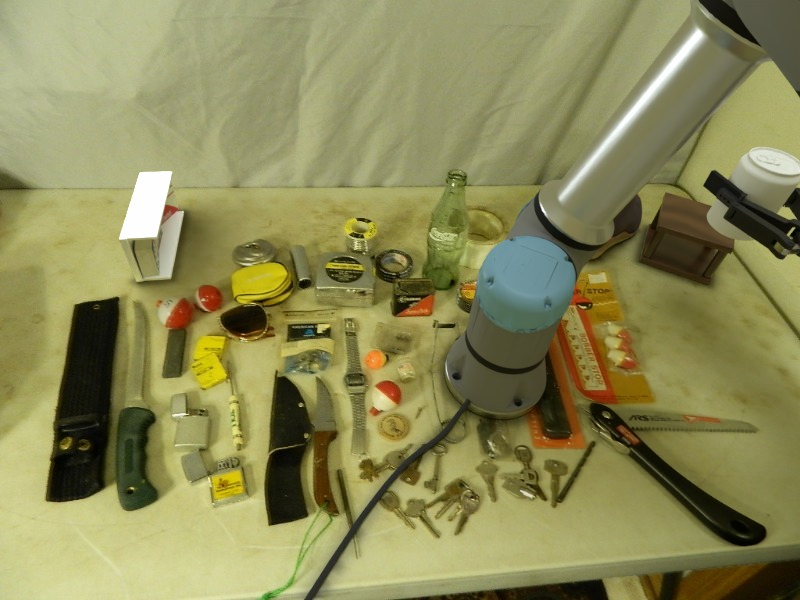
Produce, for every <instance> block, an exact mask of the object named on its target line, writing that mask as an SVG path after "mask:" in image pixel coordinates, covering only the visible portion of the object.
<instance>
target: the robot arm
mask: <svg viewBox="0 0 800 600" xmlns="http://www.w3.org/2000/svg"><path fill="white" fill-rule="evenodd" d="M689 2H690V4H689V5H690V12H689V15H688V16H687V17H686V19H685V20H684V21H683V22H682V24H681V25H680V27H679V28H678V29H677V30H676V32H675V33H674V35H672V37H671V38H670V40H668V42H667V43H666V45H665V46H664V47H663V48H662V49H661V51H660V52H659V54H658V55H657V56H656V58H655V59H654V60H653V61H652V62H651V64H650V65H649V67H648V68H647V69H646V70H645V72H644V73H643V74H642V75H641V77H640V78H639V80H638V81H637V82H636V83H635V85H634V86H633V87H632V89H631V90H630V91H629V92H628V93H627V95H626V96H625V97H624V99H623V100H622V102H620V104H619V105H618V106H617V108H616V109H615V110H614V112H613V113H612V114H611V116H609V118H608V119H607V121H606V122H605V123H604V124H603V126H602V127H600V129H599V131H597V133H596V135H595V136H594V137H593V138H592V140H591V141H590V143H589V144H587V146H586V147H585V149H584V150H583V152H582V153H581V155H580V156H578V158H577V159H576V160H575V161H574V163H573V165H571V167H570V168H569V170H568V171H567V172H566V174H565V175H564V176H563V177H562V179H552V180H549V181H547V182H545V183H544V184H543V185H542V186H541V188H540V189H539V191H537V193H536V194H535V196H534V197H533V198H531V199H530V200H529V201H528V202H527V203H525V205H523V206H522V208H521V209H520V211H519V213H518V215H517V216H516V218H515V221H514V224H513V225H512V227H511V229H510V230H509V231H508V233H507V235H506V237H505V238H504V240H502V241H500V242H499V243H497V244H496V245H494V246H493V247H492V248H490V250H489V252H488V253H487V255H485V258H484V260H483V262H482V264H481V265H480V267H479V270H478V273H477V280H476V283H475V291H474V295H473V300H472V303H471V308H470V311H469V316H468V318H467V319H468V320H467V324H466V328H465V330H464V331H463V333H462V334H461V335H459V336H458V337H456V338H455V340H454V343H453V344H452V345H451V347H450V348H449V350H448V352H447V356H446V358H445V363H444V379H445V383H446V386H447V388H448V389H449V392H450V393H451V394H452V396H453V397H454V398H455V399H456V401H457V402H458V403H460V404H461V406H460V407H459V409H458V410H457V411H456V412H455V414H454V415H453V416H452V418H451V420H450V421H449V422H448V424H447V425H446V426H445V427H444V428H443V429H442V430H441V431H440V432H439V433H438V434H437V435H436V436H434V437H433V438H432V439H431V440H430V441H428V442H427V443H425V444H424V445H422V446H421V447H419V448H418V449H417V450H415V451H414V452H413V453H412V454H411V455H409V456H407V458H406V459H405V460H404V461H403V462H402V463H401V464H400V465H398V467H397V468H396V469H395V470H394V471H393V472H392V473H391V475H389V477H388V478H387V479H386V480H385V482H384V483H383V484H382V485H381V486H380V488H379V489H378V490H377V492H376V493H375V494H374V495H373V497H372V498H371V500H370V501H369V502H368V504H367V505H366V506H365V507H364V509H363V510H362V511H361V513H360V514H359V516H358V517H357V518H356V520H355V522H354V523H353V524H352V526H351V527H350V529H349V530H348V531H347V533H346V535H345V536H344V538H343V540H342V541H341V542H340V544H339V545H338V547H337V548H336V550H335V551H334V552H333V554H332V556H331V557H330V559H329V560H328V562H327V563H326V564H325V566H324V567H323V569H322V571H321V573H320V574H319V575H318V577H317V578H316V580H315V582H314V584H313V586H312V587H311V588H310V590H309V591H308V593H307V595H306V596H305V597H304V598H303V600H313V599H314V598H315V597H316V594H317V593H318V592H319V590H320V588H321V587H322V585H323V584H324V582H325V580H326V579H327V577H328V576H329V574H330V573H331V571H332V569H333V568H334V566H335V564H336V563H337V562H338V560H339V559H340V557H341V556H342V554H343V553H344V551H345V550H346V548H347V547H348V545H349V543H350V542H351V540H352V539H353V537H354V536H355V534H356V533H357V531H358V530H359V528H360V527H361V525H362V524H363V522H365V519H366V518H367V516H368V515H370V513H371V511H372V510H373V508H375V506H376V505H377V503H378V502H379V501H380V499H381V498H382V497H383V495H384V494H385V493H386V492H387V491H388V489H390V486H391V485H393V483H394V482H395V481H396V480H397V478H399V476H400V475H401V474H402V473H403V472H404V471H405V470H406V469H407V467H408V466H410V465H411V464H412V463H413V462H414V461H415V460H416V459H418V458H419V457H420V456H421V455H423V454H424V453H426V452H427V451H428V450H430V449H431V448H433V447H434V446H435V445H437V444H438V443H439V442H440V441H441V440H442V439H444V438H445V437H446V436H447V435H448V434H449V433H450V432H451V430H452V429H453V428H454V426H455V425H456V424H457V422H458V421H459V419H460V417H462V415H463V414H464V412H465V411H466V410H469V411H471V412H472V413H474V414H476V415H479V416H481V417H485V418H487V419H488V418H489V419H494V420H510V419H511V420H512V419H516V418H520V417H521V416H522V417H523V416H524V415H526V414H528V413H530V412H531V411H533V409H535V408H536V406H537V405H538V404H539V402H540V400H541V398H542V396H543V395H544V392H545V391H546V387H547V366H546V365H547V363H546V356H547V354H548V350H549V349H550V347H551V345H552V342H553V340H554V338H555V335H556V333H557V331H558V329H559V326H560V324H561V322H562V320H563V317H564V315H565V313H566V312H567V310H568V309H569V307H570V305H571V303H572V301H573V298H574V295H575V288H576V284H577V282H578V279H579V278H580V274H581V273H582V270H583V269H584V267H585V266H586V265H587V264H588V262H589V261H590V260H592V259H591V258H592V257H593V256H594V255H595V254H596V253H597V252H598V251H599V250H600V249H601V247H603V245H604V244H605V243H606V242H607V241H608V240H609V239H610V238H611V237H612V235H613V233H614V222H613V219H614V218H615V217H616V216H617V214H618V213H619V212H620V211H621V210H622V209H623V208H624V207H625V206H626V205H627V204H628V203H629V202H630V201H631V200H632V199H633V198H634V197H635V196H636V195H637V194H638V195H639V193H640V192H641V191H642V189H644V188H645V187H646V186H647V184H648V183H649V182H650V181H651V180H652V179H653V178H654V177H655V176H656V175H657V174H658V173H659V172H660V171H661V170H662V169H663V167H664V166H666V165H667V163H669V162H670V161H671V159H672V158H673V157H675V156H676V155H677V153H678V152H679V151H680V150H681V149H682V148H683V147H684V146H685V145H686V144H687V143H688V141H689V140H691V138H692V137H694V135H696V133H697V132H698V131H699V130H700V129H701V128H702V127H703V126H704V125H705V124H706V123H707V122H708V121H709V119H710V118H712V117H713V115H714V114H715V113H716V112H717V111H719V109H720V108H721V107H722V106H723V105H724V104H725V103H726V102H727V101H728V100H729V99H730V98H731V97H732V96H733V94H735V92H736V91H738V89H739V88H741V86H742V85H743V84H744V83H745V82H746V81H747V80H748V79H749V78H750V77H751V76H752V75H753V74H754V72H756V70H758V68H759V67H760V66H761V65H762V64H765V63H769V62H773V63H774V64H775V66H776V67H777V68H778V70H779V71H780V72H781V74H782V75H783V76H784V78H785V80H786V81H787V82H788V83H789V84H790V86H791V88H792V89H793V91H795V93H796V94H797V96H798V98H800V0H689ZM728 179H729V178H726V177H725V176H724V175H723V174H721V173H720V172H719V171H718V170H716V169H713V170H710V172H709V174H708V176H707V178H706V179H705V181H704V183H703V184H702V187H703V188H705V189H706V190H707V191H708V192H709V193H711V194H712V195H713V196H715V199H716V198H717V199H718V200H720V201H721V202H722V203H723V204H724V205H725V206H727V207H728V208H729V209H728V210H727V212H726V213H725V215H724V216H723V218H724V219H725V220H727V221H728V222H729V223H731V224H732V225H734V226H735V227H737V228H738V229H740V230H741V231H743V232H744V233H746V234H747V235H749V236H750V237H751V238H753V239H754V240H753V241H756V242H758V244H760V245H761V246H763V247H764V248H766V249H767V250H768V251H769V252H770V253H771V254H772V255H773V256H774V257H775V258H776V259H777V260H781V261H783V260H785V259H786V258H787V256H788V255H795V256H797V257H799V258H800V187H796V188H795V190H794V191H793V192H792V194H791V195H790V196H789V198H788V199H787V201H786V202H785V203H784V205H783V206H782V208H788V209H789V210H790V212H791V213H792V214H793V215H794V217H795V218H791V219H788V218H786V217H784V216H782V215H780V214H779V213H777V214H776V213H774V212H772V211H770V210H768V209H766V208H764V207H762V206H760V205H757V204H755V203H753V202H751V201H749V200H747V199H745V198H746V197H747V195H748V194H746V193H744V192H743V191H742V190H740V189H739V188H738V187H736V186H735V185H734V184H733V183H731V182H730V181H729V180H728ZM789 233H790V234H789ZM788 234H789V235H788Z"/></svg>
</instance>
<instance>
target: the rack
mask: <svg viewBox="0 0 800 600" xmlns="http://www.w3.org/2000/svg"><path fill="white" fill-rule="evenodd" d="M711 207H712V205H711V204H707V203H704V202H700V201H697V200H693V199H690V198H687V197H683V196H680V195H678V194H677V195H676V194H674V193H670V192H667V191H666V192H664V194H663V197H662V201H661V204H660V206H659V207H658V210H657V212H656V213H655V215H654V218H653V219H652V221H651V223H649V224H648V225H647V227H646V230H645V235H644V239H643V243H642V248H641V251H640V255H639V259H638V262H639V263H641V264H645V265H647V266H651V267H654V268H657V269H660V270H662V271H666V272H668V273H671V274H674V275H677V276H680V277H683V278H686V279H689V280H692V281H695V282H698V283H701V284H704V285H708V286H709V285H711V283H712V282H713V276H714V274H715V273H716V271H717V270H718V268H719V267H720V266H721V264H722V263H723V262H724V260H725V259H726V257H727V256H728V255H731V254H733V251H734V250H735V241H736V239H732V238H729V237H726V236H724V235H722V234H721V233H719V232H718V231H716V230H715V229H714V228H713V227H712V226H711V225H710V224H709V222H708V220H707V213H708V212H709V210H710V208H711ZM715 250H717V252H716V253H715Z"/></svg>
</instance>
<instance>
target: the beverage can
mask: <svg viewBox="0 0 800 600" xmlns="http://www.w3.org/2000/svg"><path fill="white" fill-rule="evenodd" d="M727 179H728V180H729V181H730V182H731V183H733V184H734V185H735V186H736V187H738V188H739V189H740V190H742V191H743V192H744V193H746V194H748V195H747V197H746V198H745V199H747V200H749V201H751V202H753V203H755V204H757V205H760V206H762V207H764V208H766V209H768V210H770V211H772V212H774V213H776V214H779V212H780V210H781V209H782V208H783V205H784V203H785V202H786V201H787V199H788V198H789V196H790V195H791V194H792V192H793V191H794V190H795V188H798V185H799V184H800V160H799V158H797V157H795V156H794V155H792V154H790V153H788V152H786V151H784V150H781V149H777V148H774V147H768V146H756V147H753V148H751V149H750V150H749V151H748V152H747V153H745V154H743V155H742V156H741V158H740V159H739V161H738V162H737V163H736V166H735V167H734V168H733V170H732V172H731V174H730V175H729V177H728V178H727ZM711 206H712V207H711V208H710V210H709V212H708V213H707V220H708V222H709V224H710V225H711V226H712V227H713V228H714V229H715V230H716V231H718V232H719V233H721V234H722V235H724V236H726V237H729V238H732V239H735V241H742V242H749V241H750V242H751V241H755V240H754V239H753V238H751V237H750V236H749V235H747V234H746V233H744V232H743V231H741V230H740V229H738V228H737V227H735V226H734V225H732V224H731V223H729V222H728V221H727V220H725V219H724V218H723V216H724V215H725V213H726V212H727V210H728V209H729V208H728V207H727V206H725V205H724V204H723V203H722V202H721V201H720V200H718V199H717V198H716V197H715V200H714V201H713V203H712V205H711Z"/></svg>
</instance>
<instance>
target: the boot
mask: <svg viewBox="0 0 800 600" xmlns="http://www.w3.org/2000/svg"><path fill="white" fill-rule="evenodd" d="M642 218H643V203H642V199H641V196H639V193H638V194H637V195H636V196H635V197H634V198H633V199H632V200H631V201H630V202H629V203H628V204H627V205H626V206H625V207H624V208H623V209H622V210H621V211H620V212H619V213H618V214H617V216H616V217H615V218H614V219H613V222H614V233H613V235H612V237H611V238H610V239H609V240H608V241H607V242H606V243H605V244H604V245H603V247H601V249H600V250H599V251H598V252H597V253H596V254H595V255H594V256H593V257H592V258H591V259H590V260H594V259H597V258H599V257H601V255H603V254H604V253H605V252H606V251H607V250H608V249H610V248H611V247H612V246H614V245H617V244H619V243H621V242H624V241H626V240H628V239H630V238H632V237H633V236H634V235H635V234H636V233H637V232H638V230H639V228H640V226H641V223H642Z"/></svg>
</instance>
